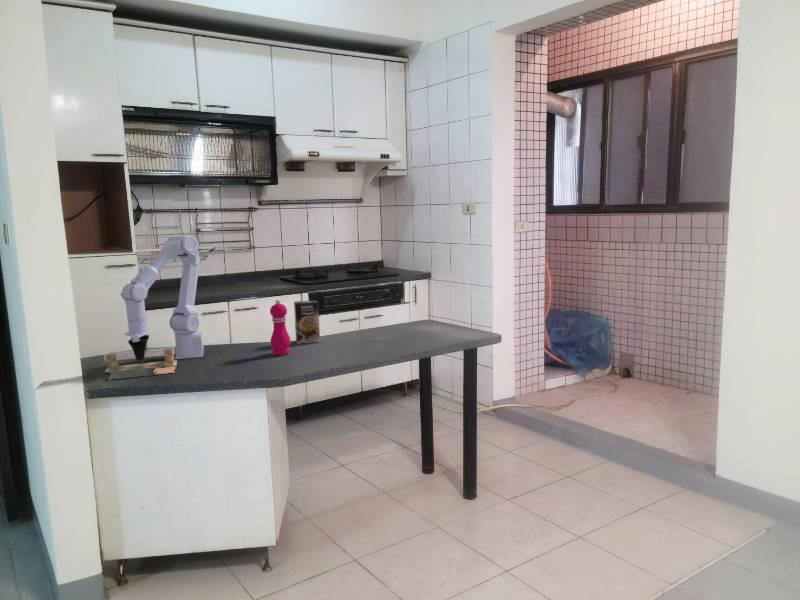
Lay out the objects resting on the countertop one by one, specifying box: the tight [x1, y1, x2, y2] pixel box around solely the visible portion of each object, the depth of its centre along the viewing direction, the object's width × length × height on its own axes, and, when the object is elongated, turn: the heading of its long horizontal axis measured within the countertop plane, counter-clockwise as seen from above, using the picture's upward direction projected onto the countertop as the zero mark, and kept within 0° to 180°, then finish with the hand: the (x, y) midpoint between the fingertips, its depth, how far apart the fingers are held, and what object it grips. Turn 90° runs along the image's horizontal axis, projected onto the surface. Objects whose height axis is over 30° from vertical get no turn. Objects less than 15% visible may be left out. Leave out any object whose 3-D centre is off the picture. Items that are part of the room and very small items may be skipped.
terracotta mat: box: [154, 367, 176, 375], centre depth 193 cm, size 20×8×1 cm, turn 107°
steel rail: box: [103, 346, 176, 362], centre depth 199 cm, size 22×2×2 cm, turn 107°
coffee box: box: [293, 300, 321, 345], centre depth 231 cm, size 9×6×16 cm
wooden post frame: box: [104, 346, 178, 373], centre depth 200 cm, size 22×6×6 cm, turn 107°
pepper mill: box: [269, 299, 292, 356], centre depth 213 cm, size 7×7×20 cm
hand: (140, 358), depth 200 cm, fingers open, 3 cm apart
